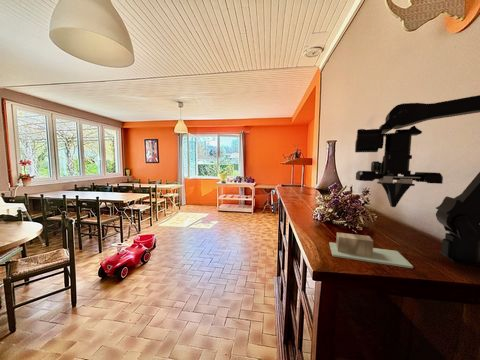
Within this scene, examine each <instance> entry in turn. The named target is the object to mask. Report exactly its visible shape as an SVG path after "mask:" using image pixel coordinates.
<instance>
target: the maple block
mask: <svg viewBox="0 0 480 360" xmlns="http://www.w3.org/2000/svg"><path fill="white" fill-rule="evenodd" d="M335 243H336V248H337V251H338V252H344V253H351V254H358V255H366V256H373V248H374V240H373V238H371V236H370V235H361V234H353V233H345V232H336V239H335Z"/></svg>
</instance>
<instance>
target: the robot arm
mask: <svg viewBox="0 0 480 360" xmlns="http://www.w3.org/2000/svg"><path fill="white" fill-rule="evenodd" d="M479 113H480V95H479V94H477V95H472V96H467V97H461V98H457V99H450V100H444V101H439V102H433V103H432V102H431V103H423V102H407V103H399V104H397V105H395V106H394V107H393V108H392V109H390V111H389V112H388V113H387V115H386V116H385V119H384V120H385V121H384V123H383V124H381V125H380V126H379V128H372V129H371V128H370V129H363V128H359V129H357V131H356V140H355V142H354V143H355V146H354V147H355V148H354V152H355V153H378V152H379V150H380V149H383V148H384V155H383V156H382V161H381V162H380V161H371V165H370V170H358V171H357V172H356V173H355V180H357V181H361V182H373V181H374V180H378V181H376V183H377V184H379V185H381V186H382V188H383V189H384V191H385V194H386V196H387V199H388V203H389V205H390V207H391V208H396V206H397V205H398V204H399V202H400V201H401V199H402V197H403V196H404V195H405V193H406V192H407V191H408V190H409V189H410V187H415V186H416V185H415V183H413V181H415V182H416V183H417V182H418V183H427V184H439V185H440V184H441V185H443V181H444V180H443V179H444V177H443V175H442V173H440V172H430V171H429V172H425V171H423V172H422V171H415V173H412V170H410V160H412V159H413V155H412V154H411V147H412V136H415V137H416V136H418V135H421V134H422V133H423V131H422V130H421V129H419V128H417V127H416V125H417V124H419V123H423V122H426V121H429V120H430V121H431V120H438V119H445V118H451V117H457V116H458V117H459V116H465V115H471V114H479ZM406 127H407V128H406ZM408 127H409V128H408ZM404 128H405V129H404ZM392 130H395V131H394V132H390V131H392ZM388 132H389V133H388ZM384 140H385V143H384ZM435 209H436V212H435V217H436V220H437V222H438V223H439V224H441V225H442V226H443V229H444V231H445V235H444V236H445V238H442V244H441V251H439V254H441V256H444V257H445V258H447V259H448V260H450V261H451V262H453V263H456V264H459V265H465V266H466V265H467V266H475V267H480V171H479V172H478V173H477V175H476V176H475V177H474V178H473V179H472V180H471V181H470V182H469V184H468V185H467V187H466V188H465V189H464V190H463V191H462V192H461V194H459V195H457V196H455V197H451V196H447V195H446V196H445V197H443V199H442V202H441V204H439V205H438V206H436V207H435Z"/></svg>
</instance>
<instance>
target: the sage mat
mask: <svg viewBox="0 0 480 360" xmlns="http://www.w3.org/2000/svg"><path fill="white" fill-rule="evenodd" d="M328 244H329V248H330V252H331V255H332V257H335V258H342V259H347V260H355V261H359V262H360V261H361V262H367V263H374V264H379V265H380V264H381V265H387V266H393V267H401V268H406V269H414V266H413V265H412V264H411V263H410V262H409V261H408V260H407V259H406V258H405V256H403V255H402V254H401V253H400V252H399V251H398V250H393V249H392V250H391V249H384V248H377V247H373V256H366V255H358V254H351V253H344V252H338V251H337V248H336V242H331V241H329V242H328Z"/></svg>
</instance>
